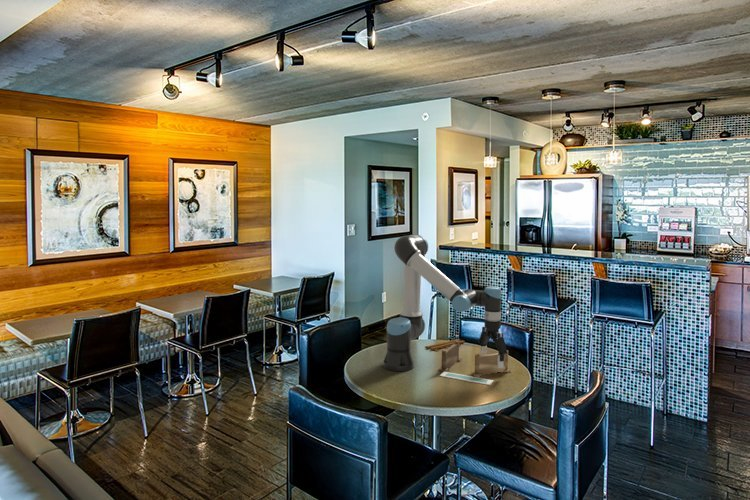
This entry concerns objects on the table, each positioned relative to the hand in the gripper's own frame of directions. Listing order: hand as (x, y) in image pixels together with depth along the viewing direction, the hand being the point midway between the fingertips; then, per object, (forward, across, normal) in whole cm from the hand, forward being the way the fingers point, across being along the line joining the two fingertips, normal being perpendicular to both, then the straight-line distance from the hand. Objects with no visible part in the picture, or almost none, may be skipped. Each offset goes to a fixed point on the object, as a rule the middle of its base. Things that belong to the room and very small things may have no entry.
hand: (492, 363), depth 237 cm
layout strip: (+5, +2, -15) cm, 16 cm away
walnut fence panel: (+4, -17, -13) cm, 22 cm away
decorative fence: (+5, -47, +1) cm, 47 cm away
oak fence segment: (+5, 0, 0) cm, 5 cm away
